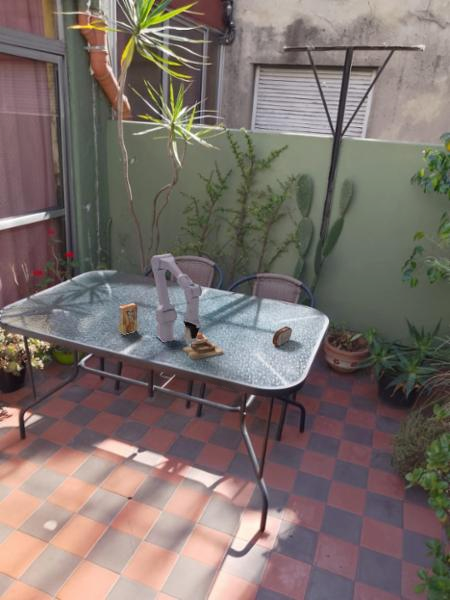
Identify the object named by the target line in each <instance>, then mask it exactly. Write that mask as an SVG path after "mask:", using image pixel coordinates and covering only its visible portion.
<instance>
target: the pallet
mask: <svg viewBox="0 0 450 600" xmlns="http://www.w3.org/2000/svg"><path fill="white" fill-rule="evenodd" d="M182 351H183V352H185V353H186V354H187V355H188V356H189V355H190V356H191V357H192V358H193V359H192V358H191V357H190V356H189V357H190V358H191V359H192V360H194V361H195V359H196V360H201V359H204V358H209V357H213V356H218V355H222V354H224V350H223V349H221V348H219V347H218V346H217V345H216V344H215V343H213V341H209V340H208V341H204V342H199V343H194V344H192V343H191V344H190V346H189V345H188V346H185V347H182ZM200 358H201V359H200Z"/></svg>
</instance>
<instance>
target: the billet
mask: <svg viewBox="0 0 450 600" xmlns="http://www.w3.org/2000/svg"><path fill="white" fill-rule="evenodd" d="M184 341H185V342H186V343H187V344H190V343H191V342H196V341H198V334H197V337H196V338H194V339H192V337H191V330H190V327H189V326H185V325H184ZM191 344H192V343H191Z"/></svg>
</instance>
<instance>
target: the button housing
mask: <svg viewBox="0 0 450 600" xmlns="http://www.w3.org/2000/svg"><path fill="white" fill-rule="evenodd" d="M204 341H208V342H209V338H208V337H207V336H206V335H204V334H203V336H202V339H198V341H196V342H192V343H193V344H194V343H199V342H204ZM192 343H191V344H192Z"/></svg>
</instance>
